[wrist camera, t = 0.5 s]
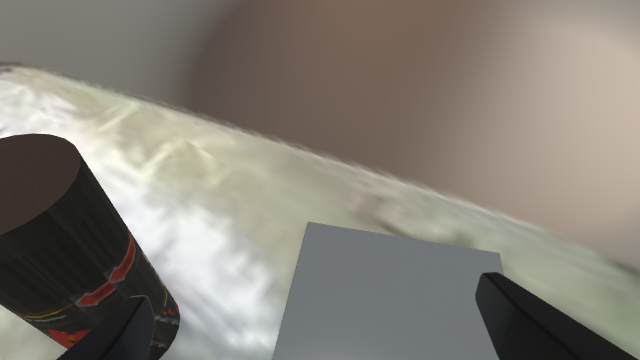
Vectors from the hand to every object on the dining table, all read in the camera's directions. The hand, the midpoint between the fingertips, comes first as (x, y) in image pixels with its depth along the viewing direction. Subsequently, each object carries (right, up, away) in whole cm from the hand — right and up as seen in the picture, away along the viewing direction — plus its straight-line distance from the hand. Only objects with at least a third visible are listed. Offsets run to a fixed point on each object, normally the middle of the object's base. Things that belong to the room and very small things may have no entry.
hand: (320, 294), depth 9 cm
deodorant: (-13, -7, +15) cm, 21 cm away
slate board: (+5, -8, +15) cm, 18 cm away
